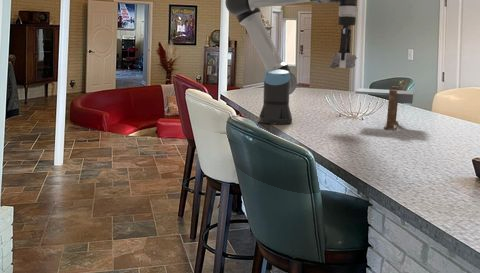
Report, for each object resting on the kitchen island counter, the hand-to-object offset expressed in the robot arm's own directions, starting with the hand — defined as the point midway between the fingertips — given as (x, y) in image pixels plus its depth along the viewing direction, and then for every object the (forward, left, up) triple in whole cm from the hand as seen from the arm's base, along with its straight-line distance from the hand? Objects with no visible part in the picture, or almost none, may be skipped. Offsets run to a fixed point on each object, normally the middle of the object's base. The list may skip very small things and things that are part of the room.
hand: (343, 67), depth 213 cm
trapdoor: (+19, 0, -14) cm, 23 cm away
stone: (-1, 0, -1) cm, 1 cm away
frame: (+23, 0, -25) cm, 34 cm away
